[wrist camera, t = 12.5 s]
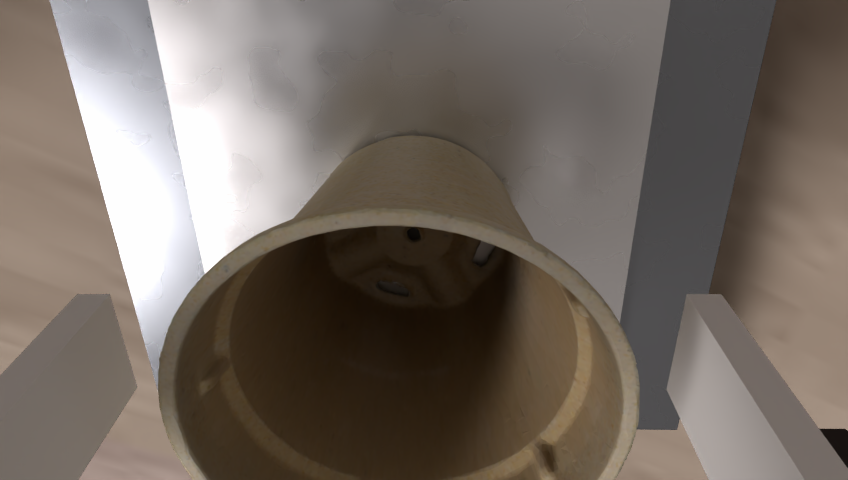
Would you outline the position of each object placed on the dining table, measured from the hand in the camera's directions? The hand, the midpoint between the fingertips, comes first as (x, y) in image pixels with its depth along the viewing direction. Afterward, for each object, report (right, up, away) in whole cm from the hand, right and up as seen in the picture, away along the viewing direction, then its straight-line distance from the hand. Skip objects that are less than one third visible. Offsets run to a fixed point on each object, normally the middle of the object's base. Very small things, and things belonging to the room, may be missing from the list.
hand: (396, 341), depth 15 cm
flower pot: (0, +3, +5) cm, 6 cm away
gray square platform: (0, +5, +9) cm, 11 cm away
